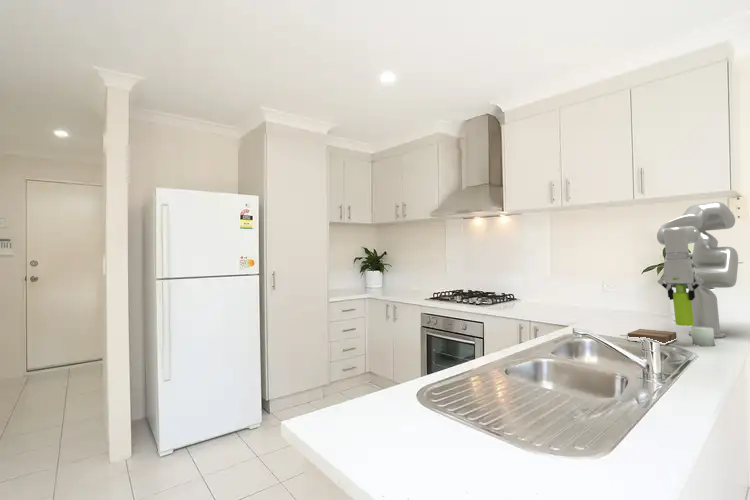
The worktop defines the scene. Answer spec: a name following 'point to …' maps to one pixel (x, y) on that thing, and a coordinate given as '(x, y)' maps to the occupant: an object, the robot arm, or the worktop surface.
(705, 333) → the pale green rounded block
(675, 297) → the soap dispenser
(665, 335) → the walnut plinth
